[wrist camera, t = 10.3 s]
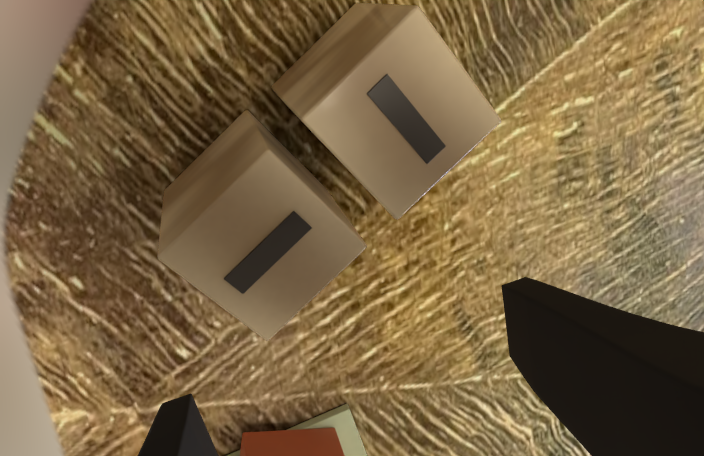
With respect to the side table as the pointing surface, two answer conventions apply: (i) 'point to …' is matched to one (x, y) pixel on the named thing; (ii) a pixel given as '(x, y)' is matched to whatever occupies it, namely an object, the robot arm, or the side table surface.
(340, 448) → the red slotted block
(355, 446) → the word mat
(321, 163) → the side table surface
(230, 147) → the beige dark-barred block
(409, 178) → the tan rectangular block
